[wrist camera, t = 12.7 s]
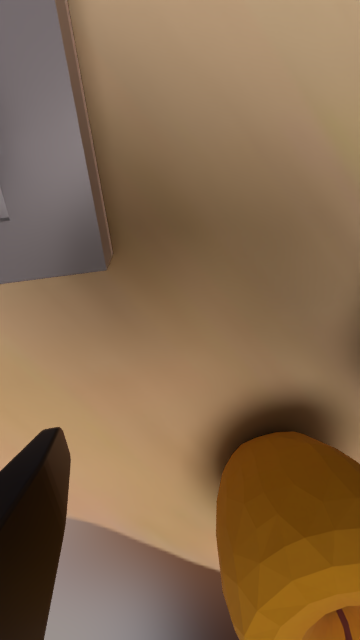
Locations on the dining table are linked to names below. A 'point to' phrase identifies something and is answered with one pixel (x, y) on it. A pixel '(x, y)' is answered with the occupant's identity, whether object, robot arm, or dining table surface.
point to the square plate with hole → (46, 150)
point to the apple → (290, 539)
